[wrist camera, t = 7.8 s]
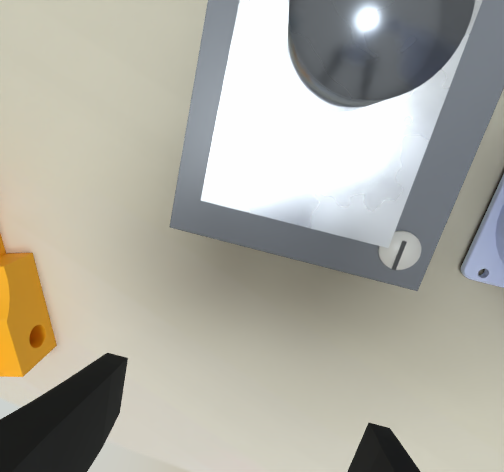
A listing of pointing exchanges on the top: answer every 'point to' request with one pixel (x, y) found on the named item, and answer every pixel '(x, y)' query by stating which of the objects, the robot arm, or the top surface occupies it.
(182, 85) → the top surface
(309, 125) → the pan
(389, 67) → the cylinder
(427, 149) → the base
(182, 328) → the top surface
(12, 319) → the pipe clamp
